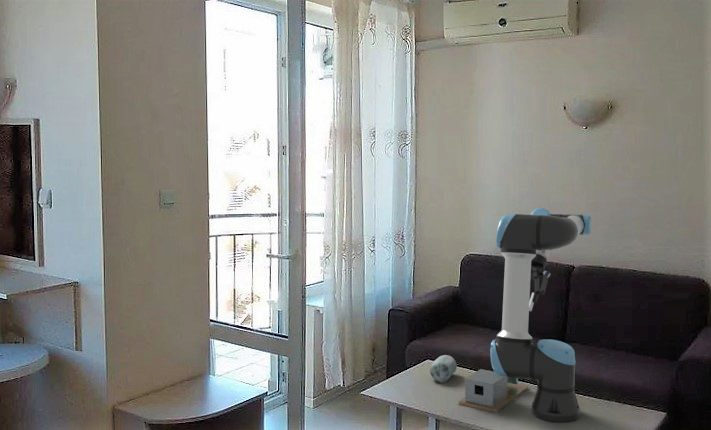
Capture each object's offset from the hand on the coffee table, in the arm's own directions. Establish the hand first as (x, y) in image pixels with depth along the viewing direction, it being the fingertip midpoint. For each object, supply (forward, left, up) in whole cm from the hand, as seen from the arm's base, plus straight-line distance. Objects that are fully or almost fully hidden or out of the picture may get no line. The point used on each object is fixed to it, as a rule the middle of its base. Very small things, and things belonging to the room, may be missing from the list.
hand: (521, 307), depth 262 cm
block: (-10, +17, -24) cm, 32 cm away
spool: (+12, +27, -27) cm, 40 cm away
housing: (-12, +21, -26) cm, 36 cm away
